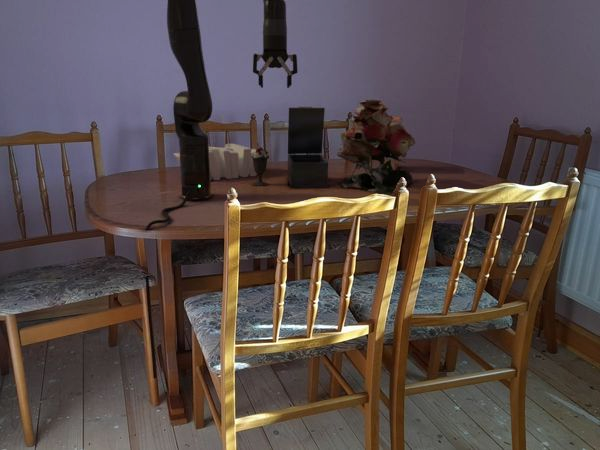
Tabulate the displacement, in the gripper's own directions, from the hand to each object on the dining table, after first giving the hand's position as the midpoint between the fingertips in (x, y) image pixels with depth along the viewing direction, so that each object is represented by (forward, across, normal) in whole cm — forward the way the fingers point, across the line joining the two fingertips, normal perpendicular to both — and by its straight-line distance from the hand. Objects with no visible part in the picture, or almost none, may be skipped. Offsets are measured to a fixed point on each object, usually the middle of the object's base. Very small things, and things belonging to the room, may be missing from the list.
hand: (275, 87), depth 174 cm
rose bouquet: (+34, +35, +8) cm, 50 cm away
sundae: (+34, -5, +9) cm, 36 cm away
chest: (+34, +12, +11) cm, 38 cm away
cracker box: (+34, +49, +34) cm, 69 cm away
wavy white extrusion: (+34, -19, +26) cm, 47 cm away
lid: (+16, +12, +17) cm, 26 cm away
